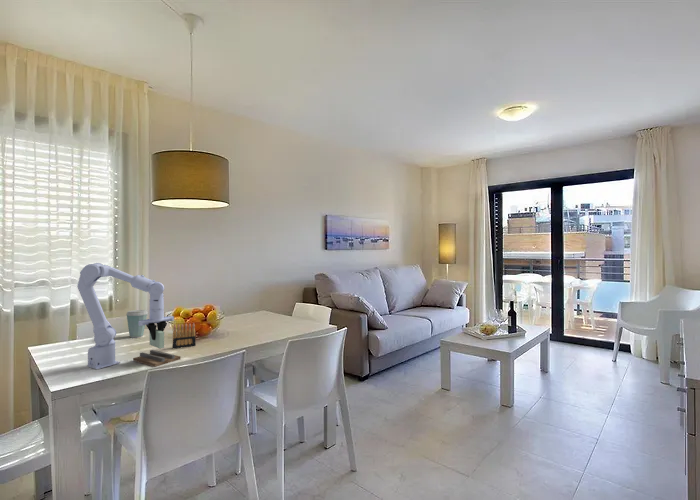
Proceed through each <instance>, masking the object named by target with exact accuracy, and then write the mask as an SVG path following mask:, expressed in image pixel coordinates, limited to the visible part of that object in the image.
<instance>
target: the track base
mask: <svg viewBox="0 0 700 500" xmlns="http://www.w3.org/2000/svg"><path fill="white" fill-rule="evenodd" d="M132 360H133V362H136V363H139V364H143V365H147V366H151V367H154V368H155V367H160V366H162V365H166V364H170V363H172V362H176V361H178V360H181V356H180V355H177V354H173V353H169V352H163V351H160V350H154V349H150V350H149V353H146V352H139V356H136V357H133V358H132Z"/></svg>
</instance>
